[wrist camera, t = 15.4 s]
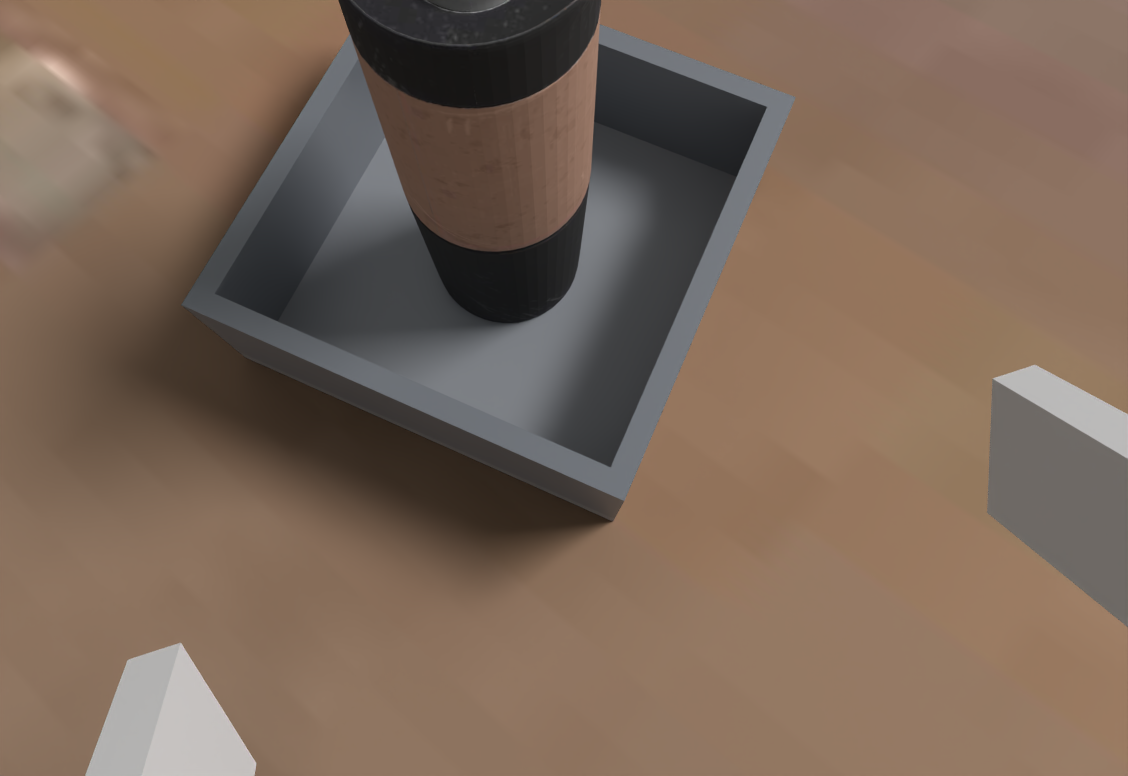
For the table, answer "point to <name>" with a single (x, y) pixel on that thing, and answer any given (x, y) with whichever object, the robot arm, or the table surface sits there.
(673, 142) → the bin
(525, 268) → the travel mug
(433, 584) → the table surface
